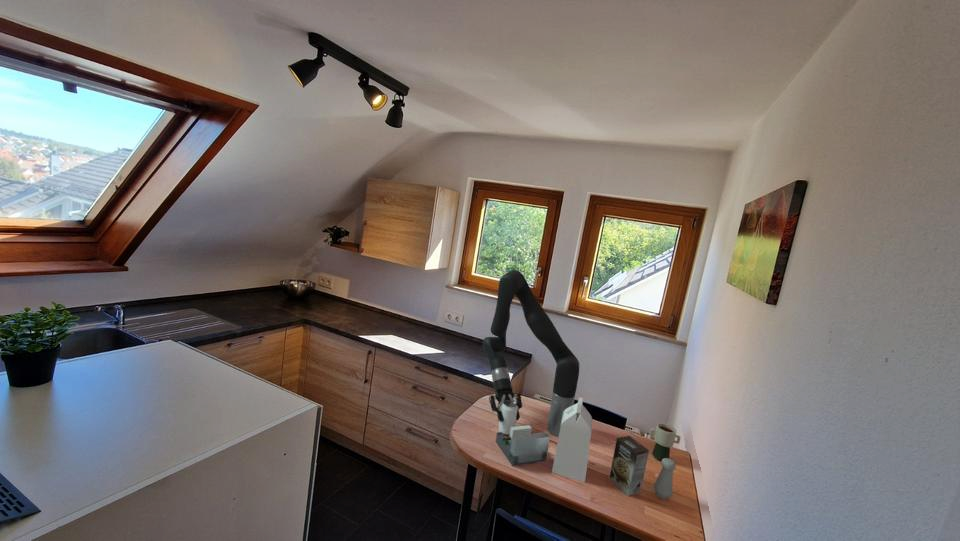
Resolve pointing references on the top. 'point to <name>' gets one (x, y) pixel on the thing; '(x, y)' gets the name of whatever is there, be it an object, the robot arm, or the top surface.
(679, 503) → the top surface
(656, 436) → the character mug
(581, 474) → the milk
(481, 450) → the top surface
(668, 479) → the salt shaker
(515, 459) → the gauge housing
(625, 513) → the top surface
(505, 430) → the can
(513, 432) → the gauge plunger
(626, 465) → the coffee box
